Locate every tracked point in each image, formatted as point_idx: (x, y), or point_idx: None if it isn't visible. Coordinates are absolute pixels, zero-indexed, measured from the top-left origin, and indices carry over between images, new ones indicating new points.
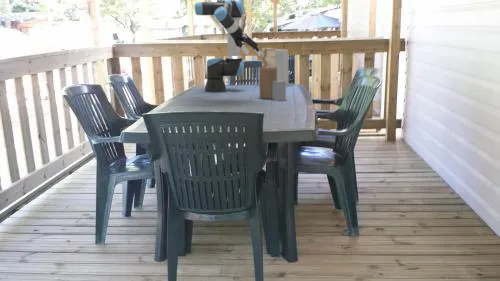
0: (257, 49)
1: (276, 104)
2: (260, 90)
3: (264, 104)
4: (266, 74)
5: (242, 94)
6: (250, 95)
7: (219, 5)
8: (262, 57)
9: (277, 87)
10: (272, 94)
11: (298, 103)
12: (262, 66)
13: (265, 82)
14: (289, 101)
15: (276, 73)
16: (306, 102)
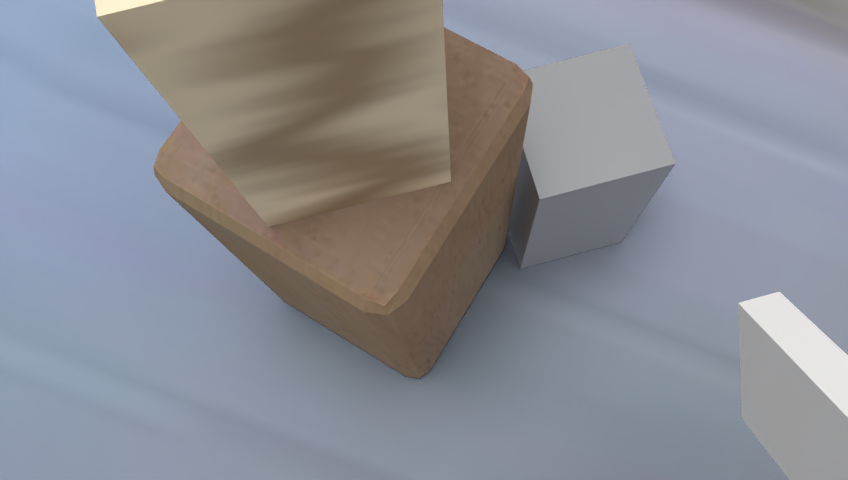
0: None
1: (838, 343)
2: (419, 363)
3: None
4: (462, 239)
5: (25, 465)
6: (141, 397)
7: None
8: (226, 144)
9: (640, 196)
10: (526, 252)
11: (826, 108)
12: (284, 218)
13: (455, 284)
14: (684, 144)
15: None
16: (785, 17)
